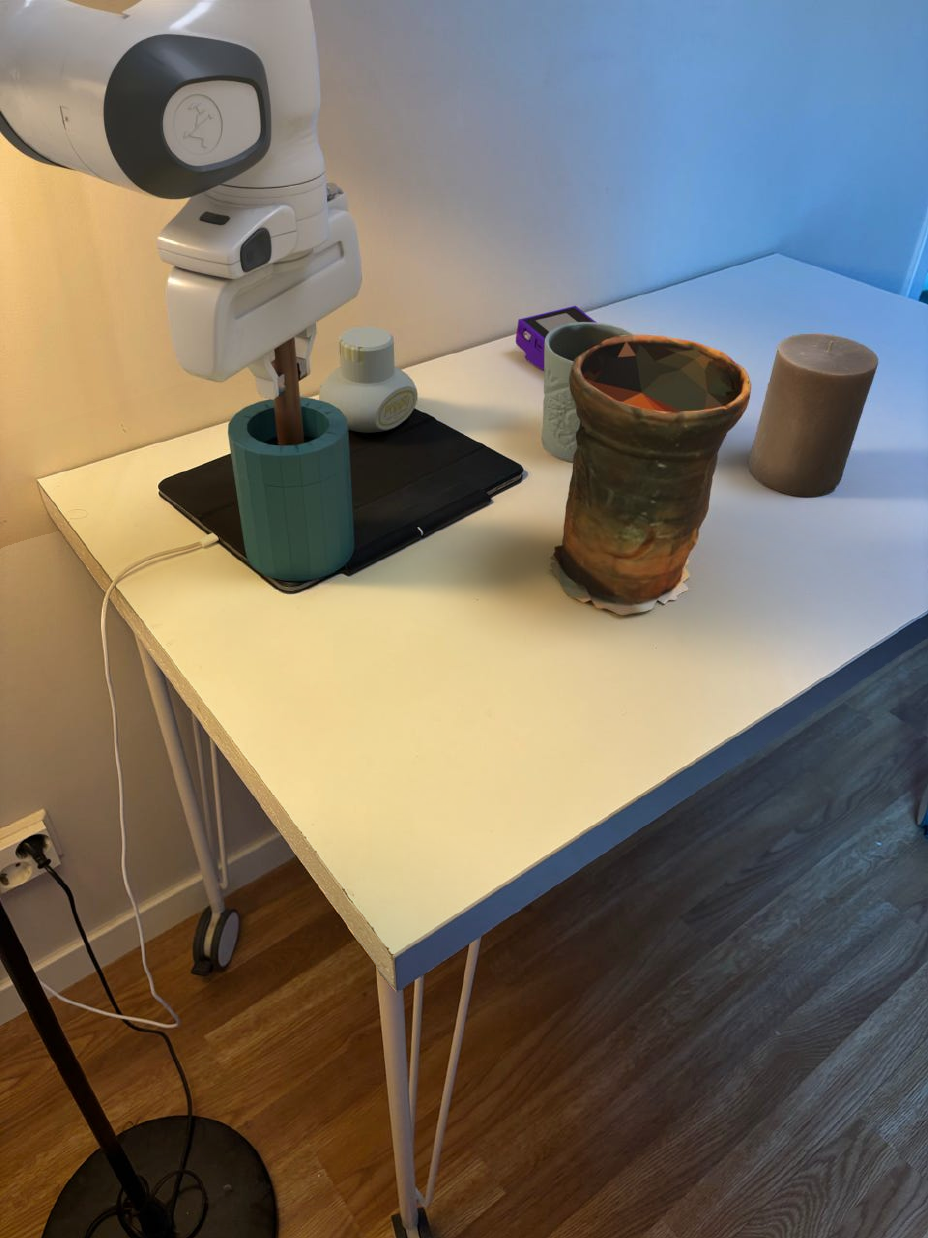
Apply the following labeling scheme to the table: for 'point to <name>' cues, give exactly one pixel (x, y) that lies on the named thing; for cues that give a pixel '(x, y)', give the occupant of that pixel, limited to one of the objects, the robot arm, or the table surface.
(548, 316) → the handheld gaming console
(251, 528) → the container
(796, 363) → the pillar candle
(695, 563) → the table surface
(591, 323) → the green embossed cup
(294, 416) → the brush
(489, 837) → the table surface
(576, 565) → the vessel
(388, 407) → the air freshener
